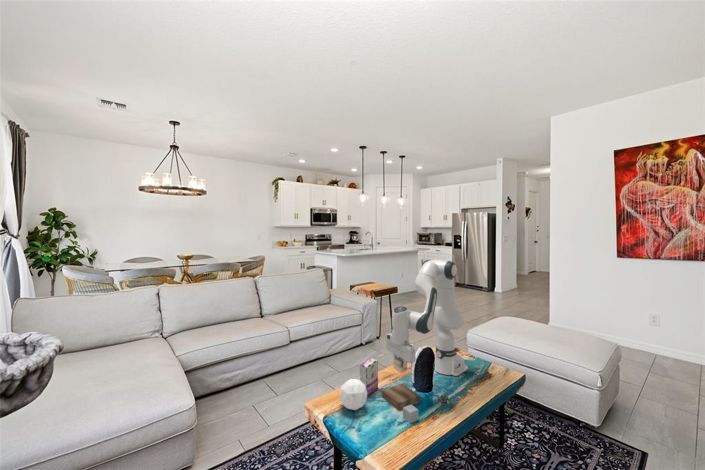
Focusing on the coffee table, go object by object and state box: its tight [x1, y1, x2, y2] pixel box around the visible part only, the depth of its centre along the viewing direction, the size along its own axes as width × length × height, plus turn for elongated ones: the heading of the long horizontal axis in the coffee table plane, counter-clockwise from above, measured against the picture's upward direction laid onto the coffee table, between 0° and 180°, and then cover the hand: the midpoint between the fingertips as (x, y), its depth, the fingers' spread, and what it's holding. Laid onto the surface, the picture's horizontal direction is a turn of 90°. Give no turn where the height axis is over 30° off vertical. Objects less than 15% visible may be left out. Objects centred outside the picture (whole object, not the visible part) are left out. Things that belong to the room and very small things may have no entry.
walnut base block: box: [381, 383, 421, 411], centre depth 157 cm, size 14×14×4 cm
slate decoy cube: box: [402, 405, 419, 424], centre depth 141 cm, size 5×5×5 cm
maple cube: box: [393, 356, 408, 373], centre depth 157 cm, size 5×5×5 cm
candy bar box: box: [359, 357, 379, 398], centre depth 165 cm, size 11×5×16 cm, turn 143°
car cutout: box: [437, 394, 463, 406], centre depth 155 cm, size 15×7×4 cm, turn 106°
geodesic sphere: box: [339, 378, 368, 411], centre depth 149 cm, size 15×14×14 cm
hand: (400, 364), depth 157 cm, fingers closed on maple cube, 5 cm apart
